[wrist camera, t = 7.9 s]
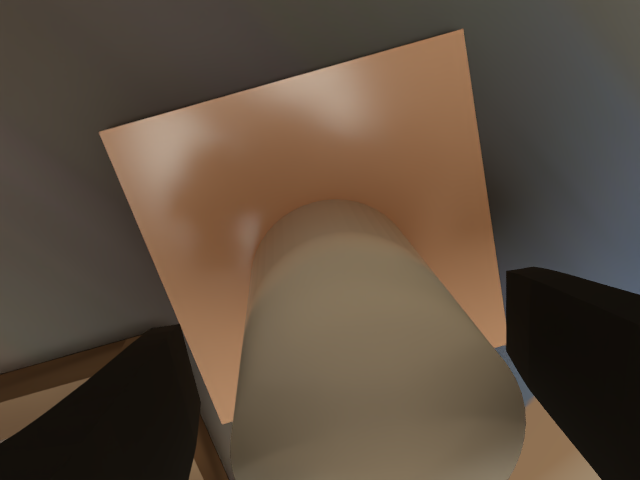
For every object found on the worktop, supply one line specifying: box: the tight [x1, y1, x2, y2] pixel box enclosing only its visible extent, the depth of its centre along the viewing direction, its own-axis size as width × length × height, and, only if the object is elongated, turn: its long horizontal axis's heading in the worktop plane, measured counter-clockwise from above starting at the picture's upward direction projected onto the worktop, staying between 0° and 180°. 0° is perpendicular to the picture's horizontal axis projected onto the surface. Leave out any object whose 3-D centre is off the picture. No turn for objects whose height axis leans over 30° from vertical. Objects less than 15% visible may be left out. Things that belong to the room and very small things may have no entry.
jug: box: [230, 199, 526, 480], centre depth 12 cm, size 8×5×7 cm, turn 0°
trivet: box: [99, 29, 506, 424], centre depth 14 cm, size 10×10×1 cm
